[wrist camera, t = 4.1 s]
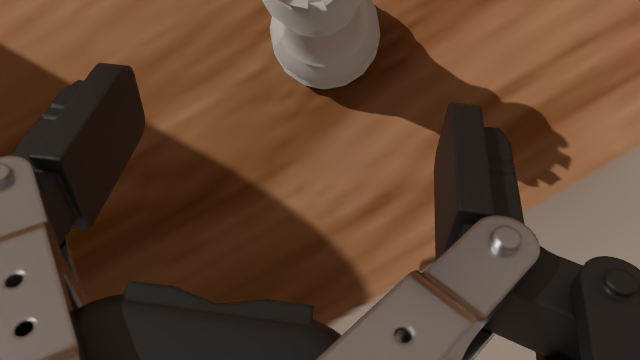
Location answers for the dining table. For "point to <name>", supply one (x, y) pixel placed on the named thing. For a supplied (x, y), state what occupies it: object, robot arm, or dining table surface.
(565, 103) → the dining table surface
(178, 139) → the dining table surface
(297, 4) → the rook chess piece
